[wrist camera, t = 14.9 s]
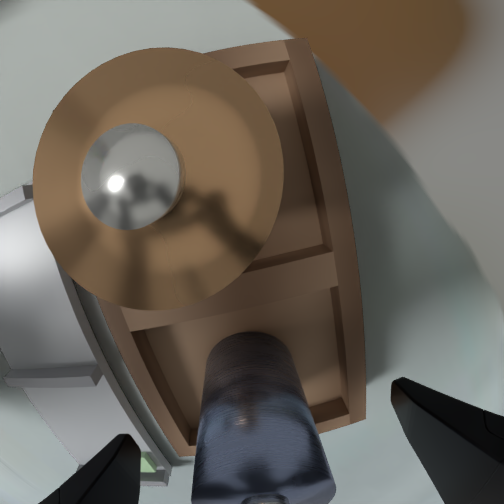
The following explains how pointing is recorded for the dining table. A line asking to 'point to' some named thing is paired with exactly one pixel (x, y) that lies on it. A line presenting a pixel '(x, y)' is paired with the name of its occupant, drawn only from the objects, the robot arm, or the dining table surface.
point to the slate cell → (257, 429)
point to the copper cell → (158, 179)
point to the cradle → (60, 347)
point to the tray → (269, 271)
